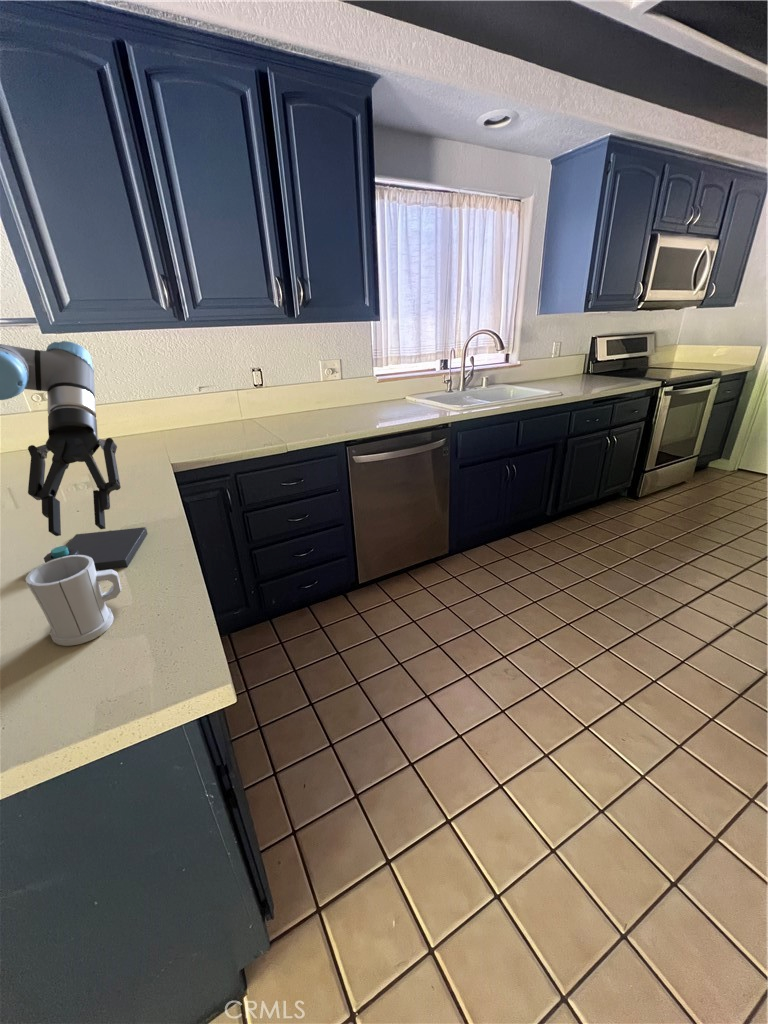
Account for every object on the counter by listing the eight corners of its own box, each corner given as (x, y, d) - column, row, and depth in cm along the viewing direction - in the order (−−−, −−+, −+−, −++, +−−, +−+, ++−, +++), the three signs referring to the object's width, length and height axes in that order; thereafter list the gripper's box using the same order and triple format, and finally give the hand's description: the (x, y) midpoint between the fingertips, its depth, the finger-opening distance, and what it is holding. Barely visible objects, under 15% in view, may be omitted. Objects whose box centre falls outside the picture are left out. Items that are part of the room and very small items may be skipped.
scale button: (50, 560, 86) (47, 553, 85) (57, 553, 89) (54, 546, 88) (66, 558, 87) (63, 551, 86) (72, 551, 89) (69, 545, 88)
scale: (44, 578, 86) (38, 563, 84) (77, 541, 99) (72, 528, 98) (127, 568, 89) (122, 553, 87) (147, 534, 102) (144, 520, 101)
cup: (99, 602, 79) (78, 545, 73) (135, 613, 75) (116, 555, 70) (40, 639, 70) (11, 578, 65) (78, 653, 67) (51, 591, 62)
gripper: (134, 422, 88) (144, 527, 81) (23, 432, 82) (23, 546, 75) (122, 401, 81) (132, 513, 74) (0, 410, 75) (-2, 533, 68)
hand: (77, 529), depth 75 cm, fingers open, 6 cm apart
